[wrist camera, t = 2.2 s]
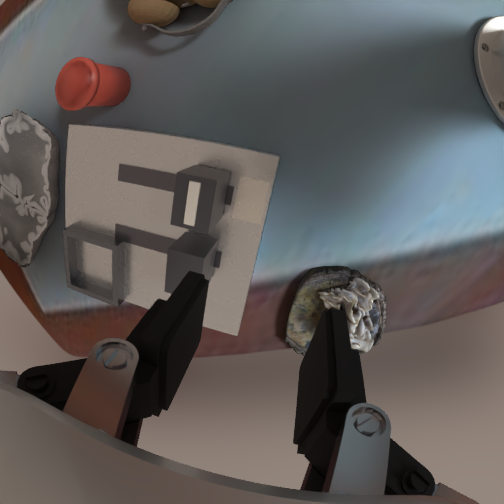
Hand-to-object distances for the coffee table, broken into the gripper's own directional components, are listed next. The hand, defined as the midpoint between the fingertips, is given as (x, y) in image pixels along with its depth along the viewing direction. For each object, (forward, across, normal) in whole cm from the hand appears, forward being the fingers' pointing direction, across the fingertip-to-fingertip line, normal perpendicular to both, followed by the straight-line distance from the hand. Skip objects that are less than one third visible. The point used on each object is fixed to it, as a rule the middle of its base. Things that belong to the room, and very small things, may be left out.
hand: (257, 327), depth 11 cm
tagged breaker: (+15, +7, 0) cm, 17 cm away
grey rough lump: (+18, -8, +10) cm, 22 cm away
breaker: (+16, +7, +6) cm, 18 cm away
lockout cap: (+17, +18, -8) cm, 27 cm away
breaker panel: (+17, +12, +5) cm, 22 cm away
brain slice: (+18, +32, +4) cm, 37 cm away
